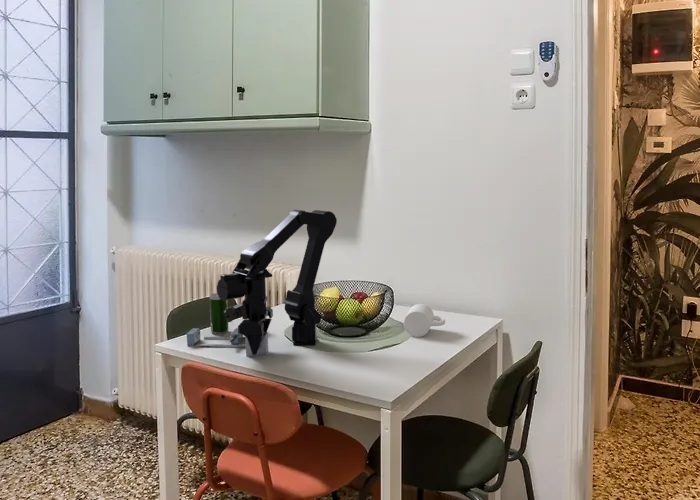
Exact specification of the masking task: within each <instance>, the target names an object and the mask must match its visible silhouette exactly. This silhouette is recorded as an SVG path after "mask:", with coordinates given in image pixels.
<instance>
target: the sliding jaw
mask: <svg viewBox="0 0 700 500" xmlns="http://www.w3.org/2000/svg"><path fill="white" fill-rule="evenodd" d="M229 337H231V339H229V342H230V345H241V342H242V341H243V340H244V339H243V337H244V335H242V334H239V333H238V327H237V328H235V329H233V331H232V332H231V333H230V336H229Z"/></svg>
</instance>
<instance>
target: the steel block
mask: <svg viewBox="0 0 700 500" xmlns="http://www.w3.org/2000/svg"><path fill="white" fill-rule="evenodd" d="M268 334H269V332H268V331H267V332H264V333H263V336H262V339H261V342H260V345H259V348H258V351H257V354H256V355H253V354H252V352H251V348H250V345H249V342H248V339H247V337H246V339H245V345H246V347H245V356H246V357H262V356H266V357H267V355H268V354H269V335H268Z"/></svg>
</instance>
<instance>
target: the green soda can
mask: <svg viewBox="0 0 700 500" xmlns="http://www.w3.org/2000/svg"><path fill="white" fill-rule="evenodd" d="M226 308H229V307H228V300H225V301H222V300H221V299H220V298H219V296H218V294H217V292H214V293H211V294H209V314H210V315H209V317H210V318H209V319H210V321H209V322H210V332H211V334H212V335H224V334H227V333H228V332H229V322H228V321H227V318H226V319H225V318H224V316H225V315H224V311H225V310H226Z"/></svg>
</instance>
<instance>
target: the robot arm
mask: <svg viewBox="0 0 700 500" xmlns="http://www.w3.org/2000/svg"><path fill="white" fill-rule="evenodd" d="M337 220H338V218H336V214H334V212H332V211H327V210H319V209H316V210H312V211H311V212H309V211H305V210H301V209H293V210H292V211H290V212H289V215H287V217H285V218H284V219H283V220H282V221H281V222H280V223H279V224H278V225H277V226H276V227H275V228H274V229H273V230H272V231H270V233H269V234H267V235H266V236H265V237H264V238H263V239H262V240H260V241H257V242H256V243H253V244H251V245H250V246H248V247H246V248H245V249H243V250H242V251H241V252H240V255H239V257H240V258H239V259H238V262H237V263H236V265H235V267H234V269H233V270H232V273H229V274H227V273H226V274H225V273H223V274H220V279H219V280H218V282H217V285H216V293H217V294H218V296H219V298H220V299H221V300H222V301H225V300H227V301H231V300H236V299H240V298H244V299H243V300H242V303H239V304H235V305H231V306H230V307H228V308H226V310H225V311H224V315H225V316H224V318H225V319H226V318H227V321H228V323H231V322H233V321H235V320H238V319H239V318H241V319H242V321H241V322H240V323H239V324H238V326H237V328H238V333H239V334H242V335H243V337H247V339H248V342H249V345H250V348H251V352H252V354H253V355H256V354H257V351H258V348H259V345H260V342H261V339H262V336H263V333H264V332H268V331H269V328H270V324H271V322H272V318H273V316H274V311H273V310H274V309H272V308H271V307H270V306H267V301H268V296H267V289H266V288H267V286H266V284H267V283H266V279H267V278H272V277H273V273H271V272H270V271H269V270H268V269H267V267H268V266H269V265H270V264H271V262H272V261H273V259H274V256H275V253H276V252H277V251H278V250H279V249H280V247H282V246H283V245H284V244H285V243H287V241H288V240H289V239H290V238H291V237H292V236H294V234H296V232H298V230H299V229H301V227H303V226H304V225H306V231H307V236H308V240H307V244H306V248H305V252H304V254H303V259H302V262H301V263H302V264H301V265H300V266H301V267H300V269H299V274H298V279H297V281H296V282H297V283H296V284H295V287H294V288H293V289H292V290H290V289H287V292H286V296H285V299H284V301H283V304H284V311H285V313H286V314H287V315H288V317H289V320H290V321H294V322H293V325H292V327H291V340H292V345H294V346H315V345H317V341H318V336H317V325H318V324H320V323H321V320H322V315H321V314H320V313H319V312H318V311H317V310H316V309H315V304H316V300H315V295H314V286H315V282H316V279H317V275H318V271H319V268H320V264H321V259H322V256H323V252H324V248H325V244H326V242H328V241H329V239H330V238H331V236H332V235H333V233H334V231H335V229H336V226H337V222H338V221H337ZM267 317H268V318H267ZM244 319H249V320H244Z"/></svg>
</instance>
